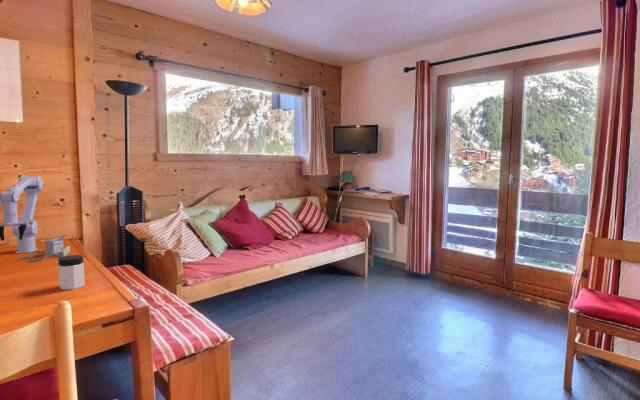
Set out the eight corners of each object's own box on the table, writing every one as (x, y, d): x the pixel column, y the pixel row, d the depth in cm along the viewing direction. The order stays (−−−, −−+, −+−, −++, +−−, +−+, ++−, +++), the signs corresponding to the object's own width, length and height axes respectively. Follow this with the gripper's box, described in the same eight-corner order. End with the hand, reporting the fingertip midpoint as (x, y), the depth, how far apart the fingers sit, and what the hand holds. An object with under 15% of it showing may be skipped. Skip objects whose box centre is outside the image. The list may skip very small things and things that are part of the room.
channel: (28, 254, 198) (28, 248, 198) (70, 251, 206) (69, 246, 206) (19, 260, 186) (19, 254, 185) (64, 256, 193) (64, 251, 193)
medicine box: (54, 256, 194) (53, 240, 193) (45, 256, 193) (44, 240, 193) (64, 253, 201) (63, 237, 201) (55, 253, 201) (54, 237, 200)
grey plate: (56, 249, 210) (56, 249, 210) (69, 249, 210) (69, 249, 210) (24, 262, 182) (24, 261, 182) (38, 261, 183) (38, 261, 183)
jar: (54, 290, 140) (52, 260, 139) (64, 284, 148) (62, 255, 147) (80, 289, 142) (79, 259, 141) (88, 282, 150) (87, 254, 149)
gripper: (-11, 215, 182) (-9, 242, 183) (25, 214, 188) (26, 240, 189) (-6, 214, 189) (-4, 239, 190) (29, 212, 195) (30, 237, 196)
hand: (11, 239), depth 190 cm, fingers open, 7 cm apart
